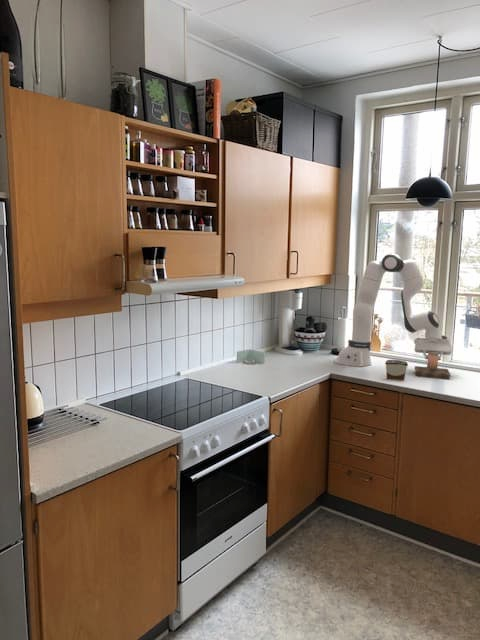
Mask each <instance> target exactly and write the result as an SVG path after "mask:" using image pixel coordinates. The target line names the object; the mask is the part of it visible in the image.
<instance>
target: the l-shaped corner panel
mask: <svg viewBox="0 0 480 640" xmlns="http://www.w3.org/2000/svg"><path fill="white" fill-rule="evenodd" d="M265 361H266V351H261V350H258V349H252V348H249V349H242V350H238V351H236V364H240V363H243V364H245V365H254V364H256V363H258V364H261V365H264V364H265Z"/></svg>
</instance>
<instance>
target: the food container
mask: <svg viewBox="0 0 480 640" xmlns="http://www.w3.org/2000/svg"><path fill="white" fill-rule="evenodd" d="M384 365H385V371H386V372H385V373H386V374H385V375H386V380H392V381H405V378H406V374H407V367H409V364H408V362H407V361H405V360H401V359H387V360H386V361H385V363H384Z"/></svg>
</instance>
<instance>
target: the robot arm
mask: <svg viewBox="0 0 480 640" xmlns="http://www.w3.org/2000/svg"><path fill="white" fill-rule="evenodd" d="M386 272H388V273H399V274H400V276H401V279H402V283H403V288H402V290H401V292H400V299H401V306H402V312H403V325H404V328H405V330H406V331H407V332H409V333H411V334H414V333H416V332H419V331H423V330H424V337H423V338H421V337H420V338H419V337H418V338H415V339H414V340H413V342H414V352H415V353H416V354H417V353H419V354H421V353H422V354H423V356H424V359H425V360H428V351H436V352H439V357H438V361H441V360H442V357H443V356H444V355H445V356H451V355H452V353H453V348H452V343H451V342H450V337H449V336H446V335H443V334H442V333H441V330H442V327H441V326H442V325H441V320H440V319H441V318H440V317H439V315H437V314H436V313H434V312H432V311H430V310H429V311H424V312H420V313H417V314H414V315H413V313H412V306H411V300H412V299H413V297H414V296H415V295H417V294H418V293H419V292H420V291H421V290H422V289H423V287H424V285H425V282H424V277H423V275H422V272H421V270H420V267H419V265H418V264H417V262H416V261H415V260H414V259H405V260H403V259H402V258H401V257H400V255H398V254H396V253H394V252H391V253H387V254H386V255H384V257H383V258H382V259H381V260H380V261H378V260H372V261H369V262H368V264H367V266H366V268H365V270H364V272H363V276H362V280H361V284H360V287H359V290H358V295H357V299H356V302H355V305H354V306H353V310H352V333H351V334H352V335H351V336H352V337H351V339H348V341H347V342H348V343H347V346H346V347H344V348H343V349H341V350H340V351H339V353H338V356H337V357H335V359H334V364H338V365H345V366H352V367H353V366H354V367H358V368H359V367H365V366H371V365H372V361H371V349H372V348H371V347H372V342H371V337H372V336H371V335H372V320H373V319H372V317H373V312H374V308H375V304H376V300H377V297H378V293H379V290H380V288H381V284H382V280H383V277H384V275H385V273H386Z"/></svg>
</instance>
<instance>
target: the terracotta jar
mask: <svg viewBox="0 0 480 640" xmlns="http://www.w3.org/2000/svg"><path fill="white" fill-rule="evenodd" d="M427 355H428V359H427V362H426V363H427V364H426V367H428V368H431V369H437V368H439V367H438V366H439V360H438V357H439V356H440V354H439V352H436V351H428V353H427Z"/></svg>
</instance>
